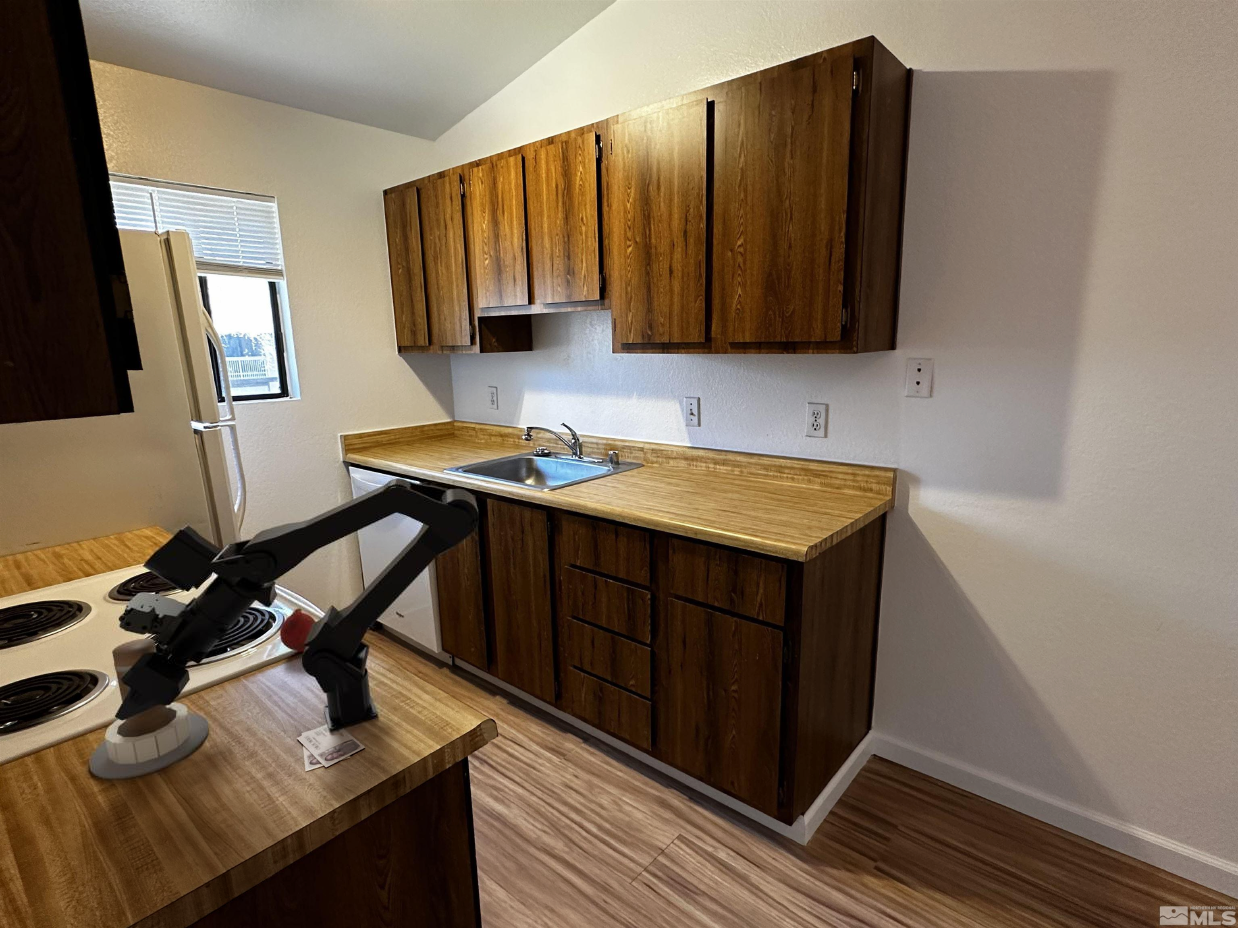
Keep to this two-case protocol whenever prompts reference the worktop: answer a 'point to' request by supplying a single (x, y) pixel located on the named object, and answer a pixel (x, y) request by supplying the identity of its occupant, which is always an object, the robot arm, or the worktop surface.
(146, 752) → the holder cup
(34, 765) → the worktop surface
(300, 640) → the onion
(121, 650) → the pepper mill
